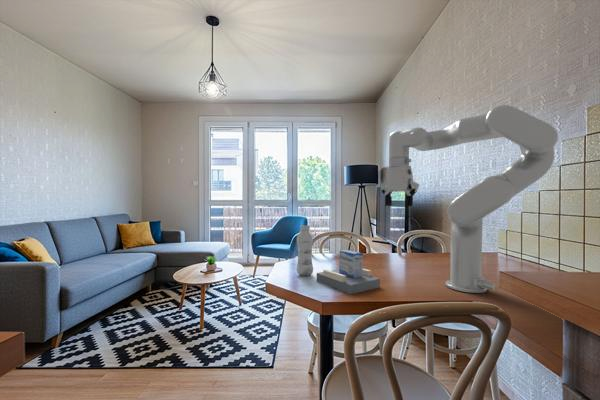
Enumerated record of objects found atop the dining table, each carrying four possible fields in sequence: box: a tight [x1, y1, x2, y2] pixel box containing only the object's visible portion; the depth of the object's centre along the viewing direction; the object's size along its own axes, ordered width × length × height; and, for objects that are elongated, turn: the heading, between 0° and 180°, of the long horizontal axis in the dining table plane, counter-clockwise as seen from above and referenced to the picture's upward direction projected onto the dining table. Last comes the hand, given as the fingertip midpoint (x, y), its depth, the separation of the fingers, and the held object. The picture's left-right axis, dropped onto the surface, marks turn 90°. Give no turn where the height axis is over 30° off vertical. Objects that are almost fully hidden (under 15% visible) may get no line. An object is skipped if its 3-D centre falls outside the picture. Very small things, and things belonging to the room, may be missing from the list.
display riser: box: [316, 268, 381, 295], centre depth 103 cm, size 18×14×5 cm
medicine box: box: [338, 249, 364, 278], centre depth 104 cm, size 8×4×9 cm, turn 35°
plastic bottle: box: [296, 224, 314, 277], centre depth 115 cm, size 6×7×20 cm
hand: (398, 206), depth 114 cm, fingers open, 9 cm apart
